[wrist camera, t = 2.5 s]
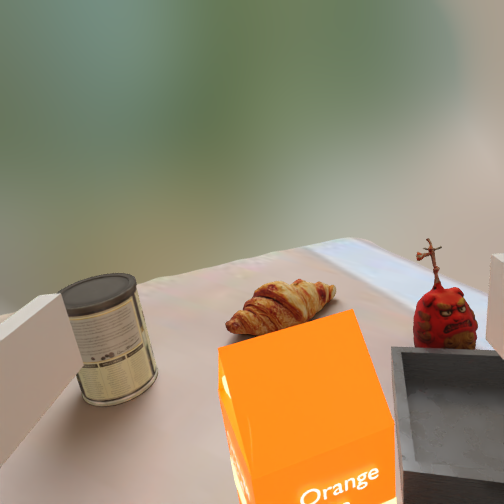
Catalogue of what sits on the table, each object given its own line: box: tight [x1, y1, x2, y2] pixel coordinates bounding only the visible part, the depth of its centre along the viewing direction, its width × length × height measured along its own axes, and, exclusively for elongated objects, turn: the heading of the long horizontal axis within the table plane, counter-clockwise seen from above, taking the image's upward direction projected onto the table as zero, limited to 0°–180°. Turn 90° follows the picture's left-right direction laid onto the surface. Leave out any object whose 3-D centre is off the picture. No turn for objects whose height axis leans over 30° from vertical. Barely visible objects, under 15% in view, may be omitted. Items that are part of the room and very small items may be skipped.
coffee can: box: [56, 273, 158, 406], centre depth 52 cm, size 10×10×14 cm
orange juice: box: [218, 309, 396, 504], centre depth 26 cm, size 8×9×20 cm
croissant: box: [225, 279, 336, 336], centre depth 64 cm, size 21×10×8 cm
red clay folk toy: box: [413, 238, 478, 350], centre depth 48 cm, size 8×7×15 cm
